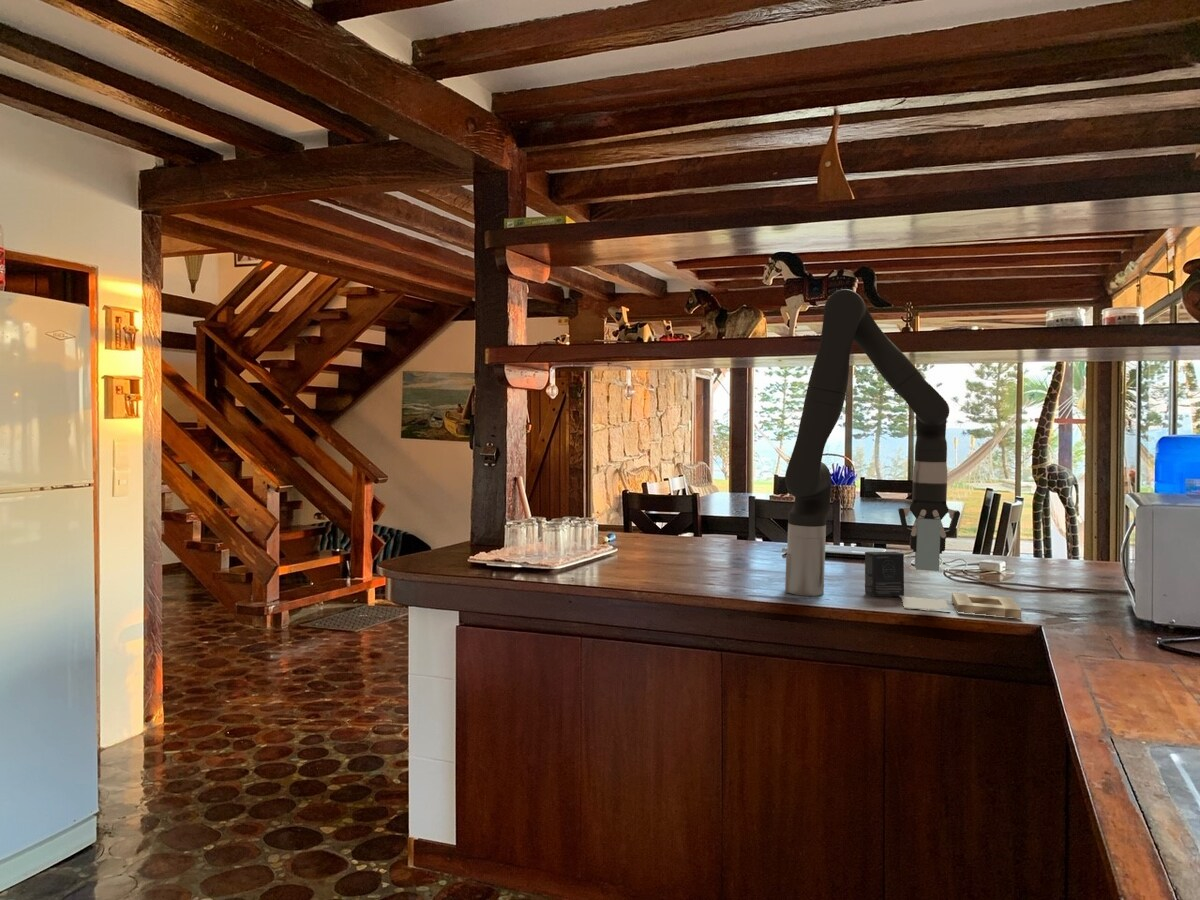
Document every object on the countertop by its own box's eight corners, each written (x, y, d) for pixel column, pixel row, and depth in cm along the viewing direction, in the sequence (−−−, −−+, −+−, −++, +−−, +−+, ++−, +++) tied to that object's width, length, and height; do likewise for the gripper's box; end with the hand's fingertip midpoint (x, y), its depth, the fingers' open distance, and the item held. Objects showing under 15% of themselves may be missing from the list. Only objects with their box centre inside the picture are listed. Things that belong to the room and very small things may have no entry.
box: (894, 593, 208) (894, 551, 209) (904, 596, 203) (904, 553, 203) (864, 593, 208) (864, 551, 208) (873, 596, 202) (873, 553, 202)
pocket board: (957, 614, 188) (958, 604, 188) (951, 601, 200) (952, 592, 200) (1020, 619, 184) (1021, 609, 184) (1010, 606, 196) (1011, 597, 196)
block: (916, 569, 194) (917, 518, 193) (914, 566, 198) (916, 516, 198) (938, 571, 192) (940, 519, 192) (937, 567, 197) (938, 517, 196)
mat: (903, 608, 192) (903, 607, 192) (901, 598, 203) (901, 596, 203) (950, 612, 189) (950, 611, 189) (945, 601, 200) (945, 600, 200)
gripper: (898, 480, 193) (895, 552, 194) (964, 483, 189) (962, 557, 189) (896, 478, 200) (894, 548, 201) (961, 480, 196) (958, 552, 197)
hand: (927, 552), depth 195 cm, fingers closed on block, 5 cm apart
